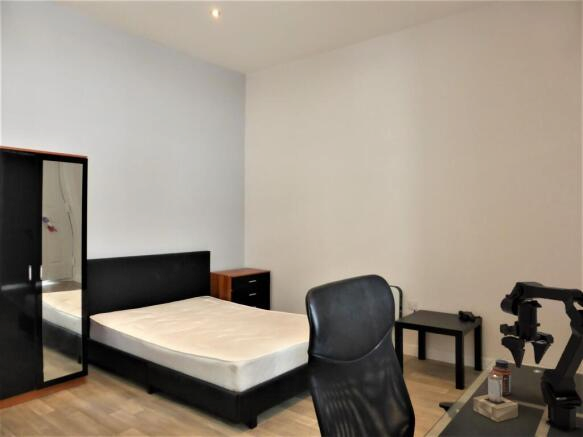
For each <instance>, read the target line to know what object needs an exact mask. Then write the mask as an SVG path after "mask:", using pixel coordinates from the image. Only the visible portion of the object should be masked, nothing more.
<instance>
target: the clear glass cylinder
mask: <svg viewBox="0 0 583 437" xmlns="http://www.w3.org/2000/svg"><path fill="white" fill-rule="evenodd" d="M486 377H487V385H488V386H487V393H488V394H487V395H488V401H489V402H491V403H493V404H495V405H499V404H502V397H503V395H502V379H503V375H502V374H500V373H496V372H493V371H489V372H487V376H486Z"/></svg>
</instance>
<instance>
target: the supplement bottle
mask: <svg viewBox="0 0 583 437" xmlns="http://www.w3.org/2000/svg"><path fill="white" fill-rule="evenodd" d="M492 372H496V373H500V374H502V375H503V379H502V396H509V395H511V393H512V392H511V391H512V370H511V368H510V367H509V362H508V361H507V360H505V359H496V360H495V365H493V366H492Z"/></svg>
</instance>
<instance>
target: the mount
mask: <svg viewBox="0 0 583 437" xmlns="http://www.w3.org/2000/svg"><path fill="white" fill-rule="evenodd" d="M472 400H473V411H475V412H476V413H477V414H481V415H482V416H484V417H486V418H489V419H490V420H492V421H494V422H496V423H499V422H504V421H506V420H511V419H515V418H517V417H518V416H519V414H518V413H519V412H518V411H519V410H518V408H519V406H518V403H517V402H514V401H512V400H509V399H507V398H504V397H503V396H502V404H499V405H495V404H493V403H491V402H489V401H488V394H485V395H484V394H483V395H480V396H476V397H475V396H474V397H473V399H472Z"/></svg>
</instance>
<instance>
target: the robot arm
mask: <svg viewBox="0 0 583 437" xmlns="http://www.w3.org/2000/svg"><path fill="white" fill-rule="evenodd" d="M537 299H538V300H539V299H543V300H551V301H559V302H562V303H563V304H564V311H565V314H566V316H567V317H568V318H569V319H570V321H569V326H570V330H571V335H570V337H569V339H568V341H567V343H566V344H565V347H564V349H563V352H562V353H561V355H560V358H559V360H558V361H557V363H556V366H555V368H546V369H544V371H543V373H542V376H541V377H540V380H541V381H540V385H539V386H540V390H541V395H542V399H543V401H544V403H545V404H546V406H547V420H545V423H546V425H547V424H548V425H549V426H553V427H555V428H556V429H559V430H561V431H563V432H567V433H568V432H571V431H574V430H577V429H580V428H581V426H580V425H578V424H577V407H578V408H581V407H582V404H583V399H582V398H581V396H580V394H579V393H578V392H577V390H576V387H577V384H576V381H575V376H576V373H577V371H578V370H579V368H580V365H582V364H581V363H582V362H583V291H582V290H580V289H578V288H564V287H555V286H546V285H544V284H542V283H541V282H537V281H517V282H515V285H514V287H513V288H512V290H511V291H510V294H509V293H506V294H505V296H504V298H502V300H501V301H500V303H499V307H500V309H501V311H502V312H503V313H506V314H509V315H512V316H515V317H517V320H514V322H513V325H509V324H508V323H501V324H499V332H500V334H503V337H502V338H501V339H500V341H501V342H500V344H501V346H502V347H504V348H506V349H507V350H508V351H509V352H510V354H511V356H512V358H513V361H514V363H515V366H516V368H518V369H521V367H522V364H523V360H524V356H525V353H526V349H525V346H526V344H531V345H532V347H533V358H534V363H535V364H536V365H539V364H540V363H541V361H542V360H543V358H544V356H545V354H546V353H547V351H548V350H549V348H550V347H552V344H554V343H555V341H554V340H555V339H554V338H555V337H554V336H553V335H552V334H551V333H545V332H543V331H538V327H539V328H540V327H541V322H538V309H541V308H543V306H542V304H541V303H540V302H539V301H538V300H537ZM576 303H577V305H579V306H580V307H582V309H581V308H580V309H577V307H576V306H575V304H576Z"/></svg>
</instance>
